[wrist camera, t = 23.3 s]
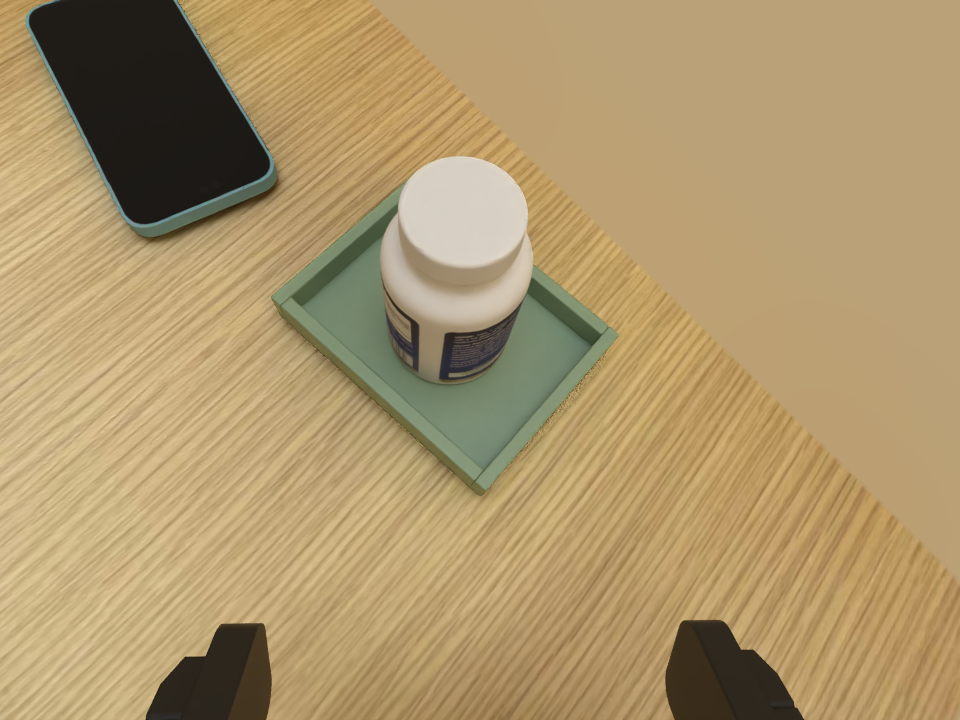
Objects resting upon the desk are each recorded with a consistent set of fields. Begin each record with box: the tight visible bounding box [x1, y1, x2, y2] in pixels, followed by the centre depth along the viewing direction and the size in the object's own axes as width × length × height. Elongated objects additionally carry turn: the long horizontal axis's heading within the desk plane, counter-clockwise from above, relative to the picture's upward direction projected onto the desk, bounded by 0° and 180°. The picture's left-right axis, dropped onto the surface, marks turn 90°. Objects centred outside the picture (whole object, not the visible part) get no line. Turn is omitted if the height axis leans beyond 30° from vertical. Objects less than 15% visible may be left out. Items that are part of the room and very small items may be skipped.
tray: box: [271, 178, 619, 496], centre depth 26 cm, size 12×9×2 cm
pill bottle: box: [380, 156, 533, 384], centre depth 22 cm, size 5×5×10 cm
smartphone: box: [25, 0, 277, 237], centre depth 29 cm, size 7×1×15 cm
